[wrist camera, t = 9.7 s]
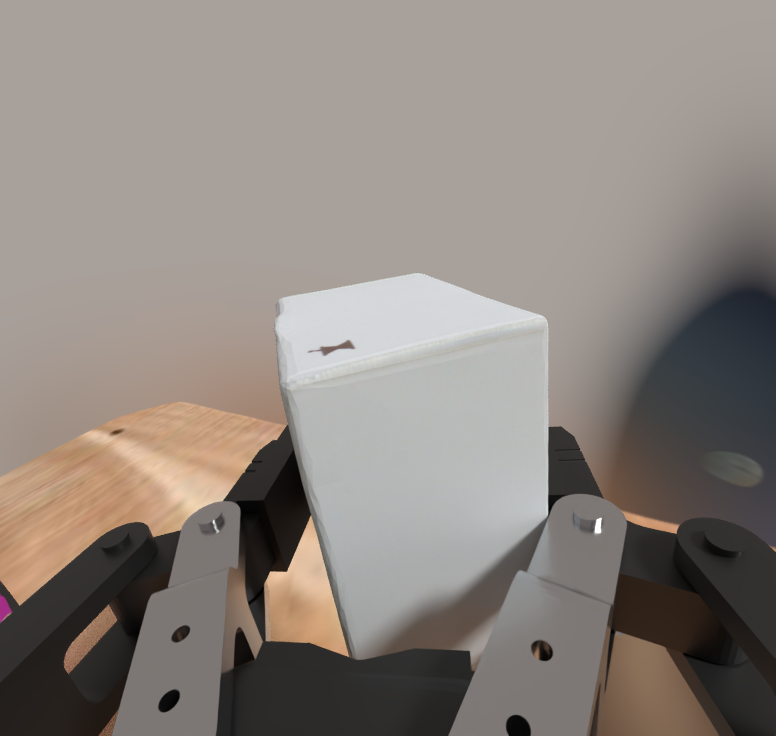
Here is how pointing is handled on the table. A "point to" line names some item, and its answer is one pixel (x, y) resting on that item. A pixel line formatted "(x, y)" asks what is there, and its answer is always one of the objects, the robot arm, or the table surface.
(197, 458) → the table surface
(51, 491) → the table surface
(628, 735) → the walnut riser
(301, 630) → the table surface
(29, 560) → the table surface
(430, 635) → the skincare box
